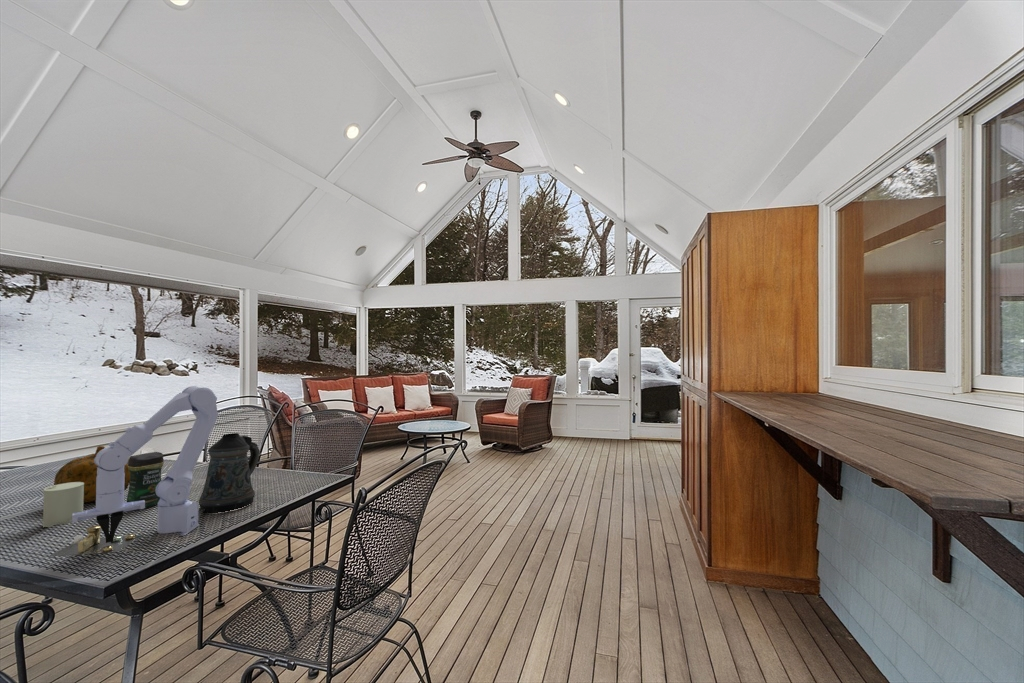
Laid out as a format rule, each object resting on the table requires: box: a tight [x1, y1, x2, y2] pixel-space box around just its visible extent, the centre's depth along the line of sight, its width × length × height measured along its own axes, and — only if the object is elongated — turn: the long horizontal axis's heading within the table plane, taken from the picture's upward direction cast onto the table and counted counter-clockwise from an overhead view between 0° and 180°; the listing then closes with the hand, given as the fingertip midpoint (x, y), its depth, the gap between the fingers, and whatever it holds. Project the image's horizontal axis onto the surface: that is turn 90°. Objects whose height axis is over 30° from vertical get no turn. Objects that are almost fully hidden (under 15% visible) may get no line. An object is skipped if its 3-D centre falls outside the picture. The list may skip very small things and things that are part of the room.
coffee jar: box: [126, 451, 165, 510], centre depth 151 cm, size 10×8×19 cm
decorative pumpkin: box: [53, 445, 130, 504], centre depth 158 cm, size 20×21×20 cm
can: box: [41, 482, 84, 528], centre depth 137 cm, size 9×9×12 cm
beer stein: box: [198, 432, 260, 514], centre depth 152 cm, size 16×19×25 cm
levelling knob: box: [78, 524, 102, 553], centre depth 116 cm, size 7×3×4 cm, turn 18°
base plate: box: [47, 533, 145, 558], centre depth 117 cm, size 16×10×3 cm, turn 98°
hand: (109, 541), depth 117 cm, fingers closed
